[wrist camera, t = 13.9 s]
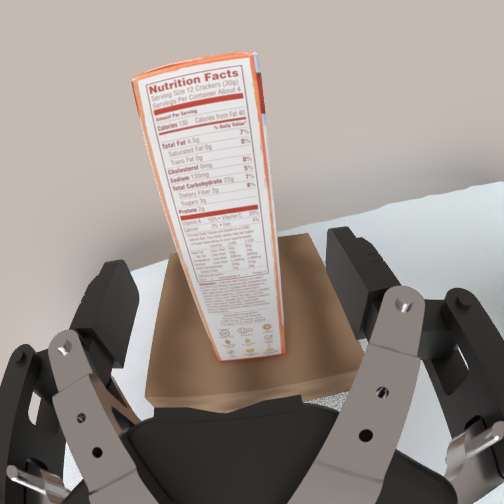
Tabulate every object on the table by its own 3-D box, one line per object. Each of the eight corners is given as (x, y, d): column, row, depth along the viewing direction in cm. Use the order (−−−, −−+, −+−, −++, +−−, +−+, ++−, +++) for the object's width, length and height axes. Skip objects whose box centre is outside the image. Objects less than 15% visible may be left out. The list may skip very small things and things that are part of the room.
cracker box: (218, 261, 33) (181, 75, 20) (269, 255, 32) (248, 64, 20) (213, 365, 21) (123, 72, 9) (287, 357, 21) (264, 44, 9)
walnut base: (307, 257, 38) (308, 233, 35) (359, 387, 21) (369, 365, 19) (178, 277, 37) (170, 254, 35) (162, 415, 21) (144, 397, 19)
